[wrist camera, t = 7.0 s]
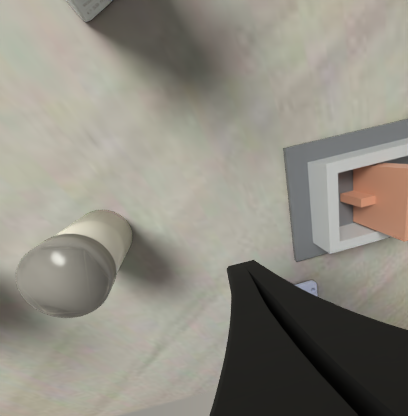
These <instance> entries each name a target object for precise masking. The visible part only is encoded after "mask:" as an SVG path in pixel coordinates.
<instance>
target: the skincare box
mask: <svg viewBox="0 0 408 416" xmlns="http://www.w3.org/2000/svg"><path fill="white" fill-rule="evenodd" d="M66 1H67V3H68V4H69V5H70V6H71V7H72V8H73V10H74V11H75V12H76V13H77V14H78V15H79V16H80V18H81V19H82V20H83V21H85V22H88V21H90V20H92V19H93V18H94V17H95V16H96V15H97V14H99V13H100V12H101V11H102V10H103V9H104V8H105V7H106V6H107V5H108V4H109V3H110V2H111V1H113V0H66Z"/></svg>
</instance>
